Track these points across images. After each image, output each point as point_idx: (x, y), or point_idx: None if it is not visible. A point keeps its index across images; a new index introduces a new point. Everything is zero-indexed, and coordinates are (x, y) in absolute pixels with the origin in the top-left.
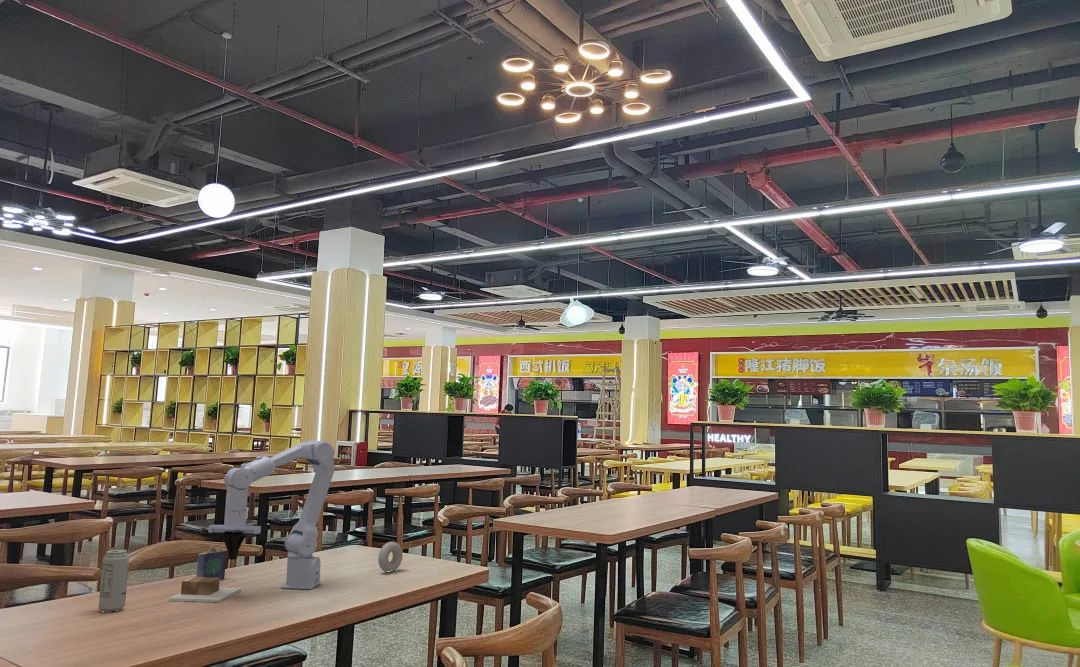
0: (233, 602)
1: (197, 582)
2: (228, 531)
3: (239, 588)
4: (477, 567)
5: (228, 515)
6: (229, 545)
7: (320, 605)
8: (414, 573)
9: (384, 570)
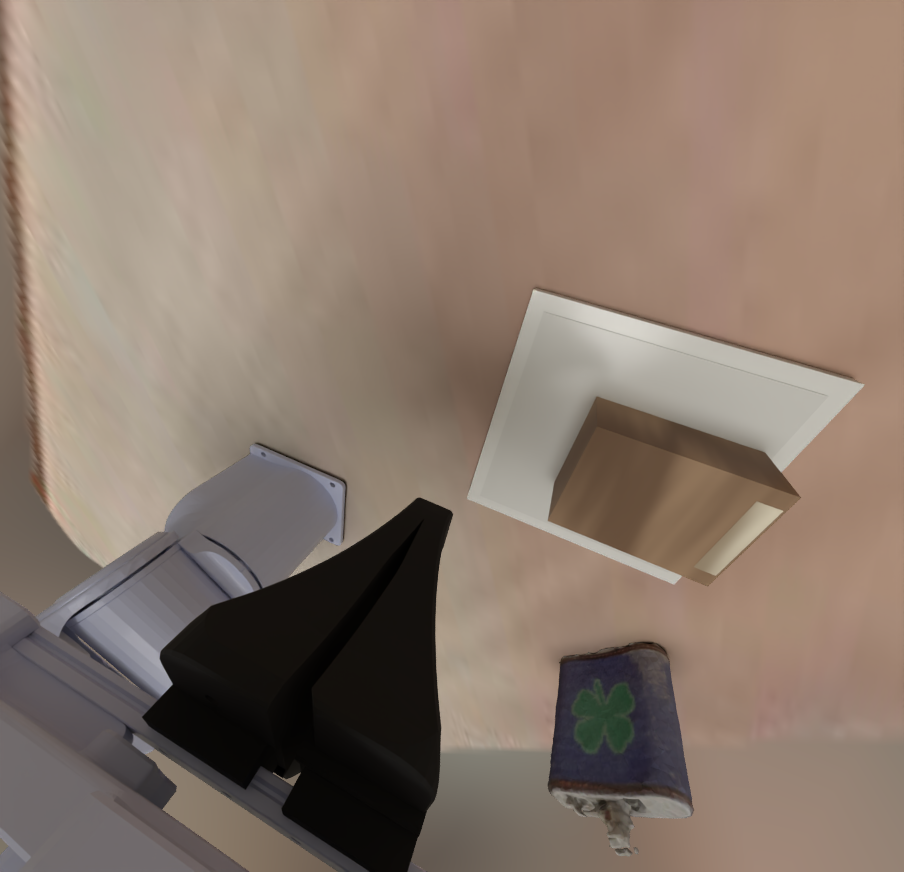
0: (459, 284)
1: (679, 453)
2: (341, 853)
3: (472, 493)
4: (72, 537)
5: None
6: (391, 593)
7: (117, 182)
8: (133, 532)
9: None
